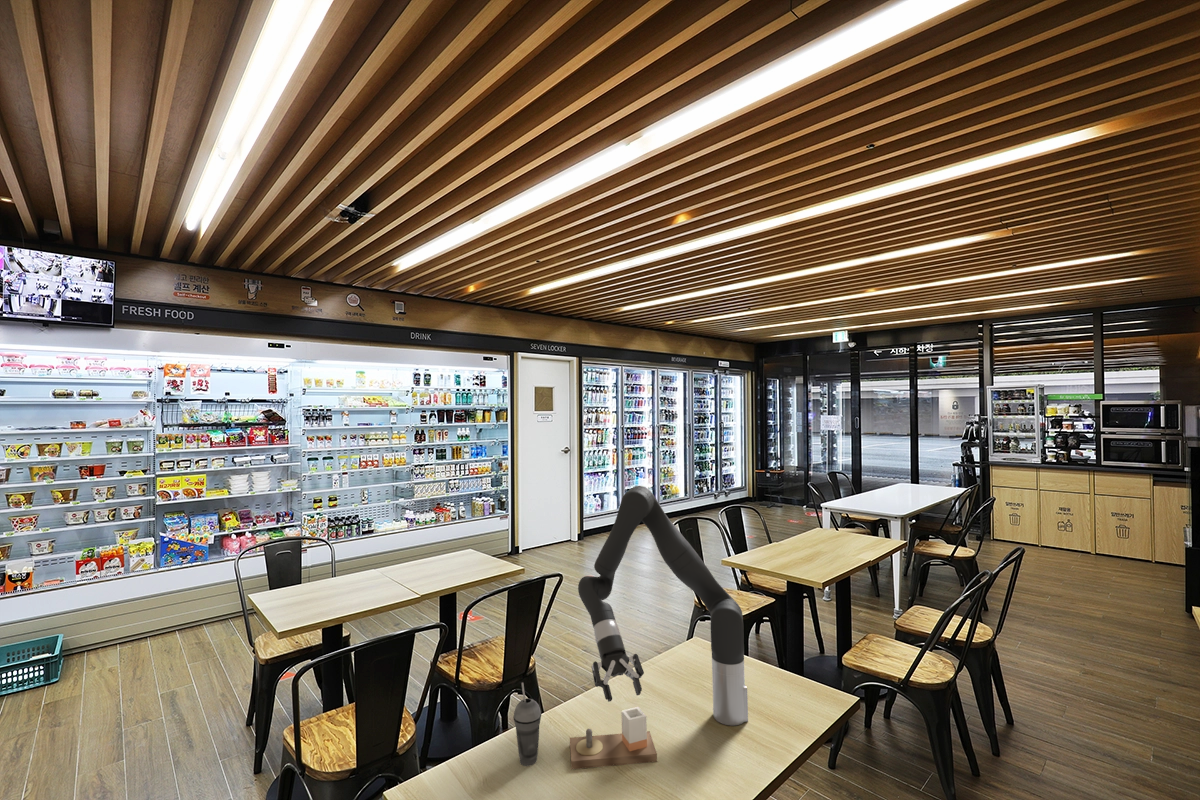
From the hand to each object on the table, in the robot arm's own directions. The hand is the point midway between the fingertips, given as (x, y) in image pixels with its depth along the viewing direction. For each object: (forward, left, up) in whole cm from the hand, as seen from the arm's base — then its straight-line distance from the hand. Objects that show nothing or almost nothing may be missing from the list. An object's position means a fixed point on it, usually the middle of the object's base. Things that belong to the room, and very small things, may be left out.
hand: (624, 697), depth 151 cm
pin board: (+4, +6, -11) cm, 13 cm away
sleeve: (-2, +6, -9) cm, 11 cm away
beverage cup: (+26, +6, -12) cm, 29 cm away
